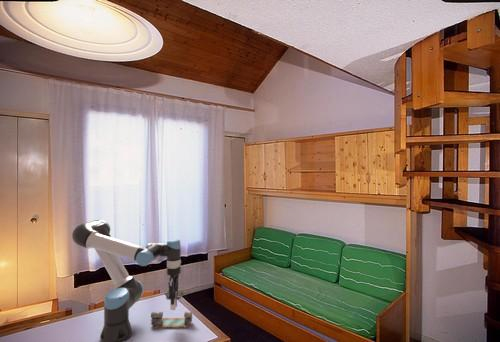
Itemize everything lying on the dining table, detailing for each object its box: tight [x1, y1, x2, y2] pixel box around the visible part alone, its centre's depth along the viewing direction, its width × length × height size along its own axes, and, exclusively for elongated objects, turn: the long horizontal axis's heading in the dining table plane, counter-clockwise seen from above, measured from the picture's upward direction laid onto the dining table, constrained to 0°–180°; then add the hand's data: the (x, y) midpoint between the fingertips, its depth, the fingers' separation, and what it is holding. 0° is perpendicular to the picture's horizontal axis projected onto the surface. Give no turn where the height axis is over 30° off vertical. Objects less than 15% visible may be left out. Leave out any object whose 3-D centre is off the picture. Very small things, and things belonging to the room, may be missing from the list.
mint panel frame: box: [150, 311, 193, 329], centre depth 154 cm, size 23×9×7 cm, turn 91°
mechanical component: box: [164, 290, 184, 301], centre depth 153 cm, size 3×10×10 cm, turn 89°
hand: (173, 307), depth 153 cm, fingers closed on mechanical component, 3 cm apart
